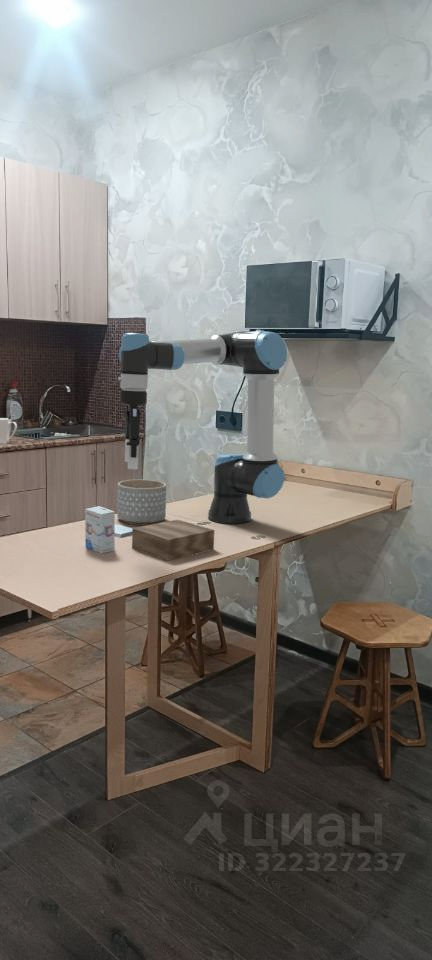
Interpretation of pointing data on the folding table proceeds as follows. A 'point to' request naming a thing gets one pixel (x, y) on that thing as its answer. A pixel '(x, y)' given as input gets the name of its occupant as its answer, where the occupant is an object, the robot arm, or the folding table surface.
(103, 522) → the ink box
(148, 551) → the walnut stand
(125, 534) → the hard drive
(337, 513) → the folding table surface
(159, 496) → the planter
